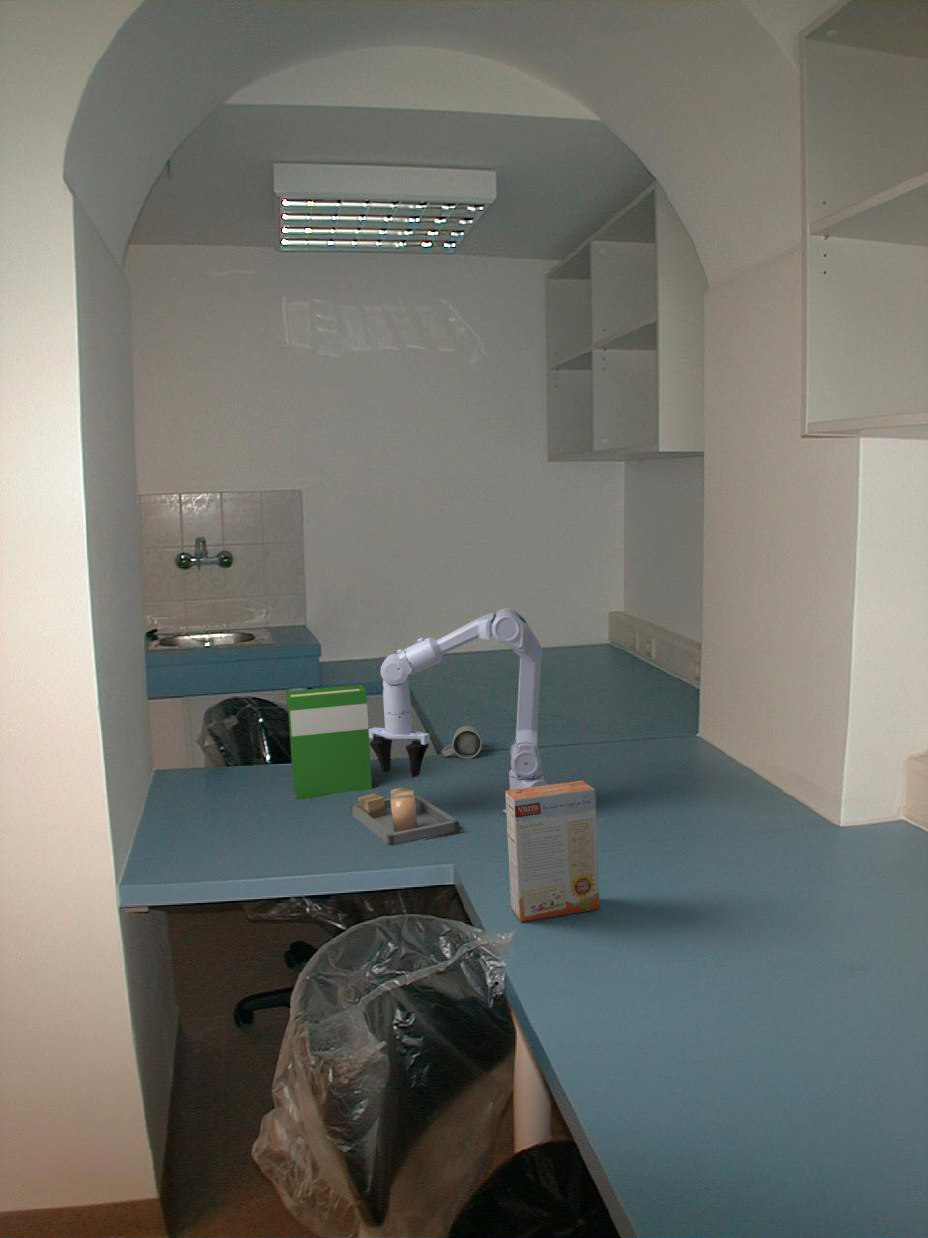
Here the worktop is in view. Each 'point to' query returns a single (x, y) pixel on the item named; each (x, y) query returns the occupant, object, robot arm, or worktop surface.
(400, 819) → the tan rounded cylinder
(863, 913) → the worktop surface
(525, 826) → the cracker box
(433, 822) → the tray
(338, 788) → the hardback book
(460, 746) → the ceramic mug
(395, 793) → the beige oval piece
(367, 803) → the oak cube
